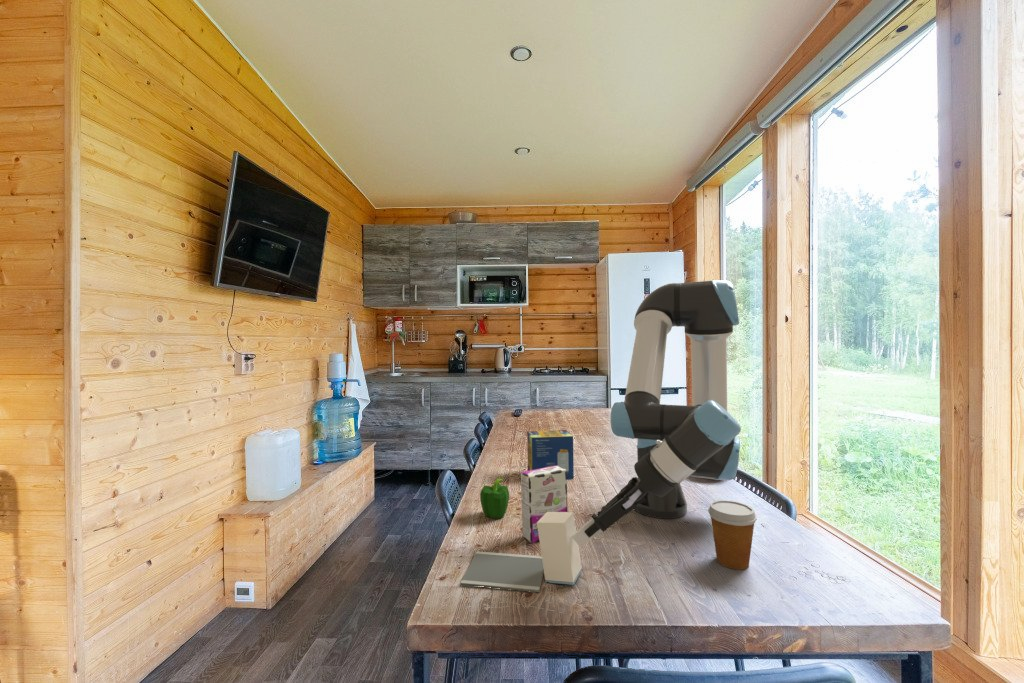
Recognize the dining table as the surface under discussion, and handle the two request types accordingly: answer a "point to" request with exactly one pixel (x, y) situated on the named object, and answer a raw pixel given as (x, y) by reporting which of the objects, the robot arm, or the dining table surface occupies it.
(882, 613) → the dining table surface
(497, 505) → the bell pepper
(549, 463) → the protein box
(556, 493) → the candy bar box
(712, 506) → the disposable coffee cup
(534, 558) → the gray plastic tray
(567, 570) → the cream block
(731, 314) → the robot arm
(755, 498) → the dining table surface
